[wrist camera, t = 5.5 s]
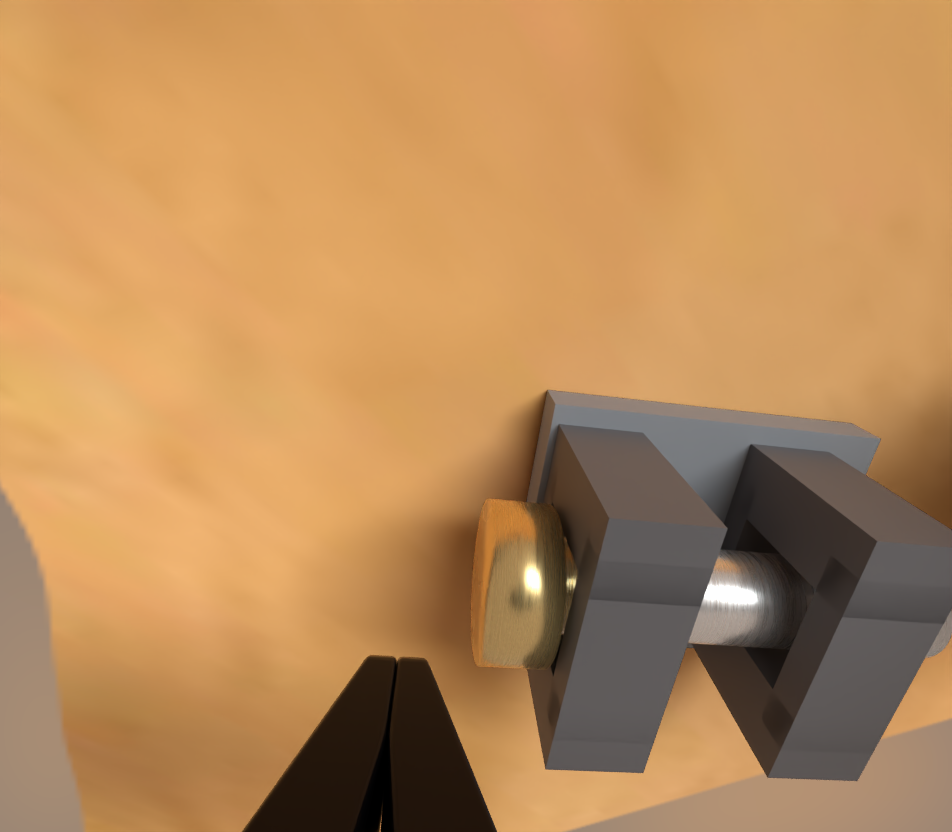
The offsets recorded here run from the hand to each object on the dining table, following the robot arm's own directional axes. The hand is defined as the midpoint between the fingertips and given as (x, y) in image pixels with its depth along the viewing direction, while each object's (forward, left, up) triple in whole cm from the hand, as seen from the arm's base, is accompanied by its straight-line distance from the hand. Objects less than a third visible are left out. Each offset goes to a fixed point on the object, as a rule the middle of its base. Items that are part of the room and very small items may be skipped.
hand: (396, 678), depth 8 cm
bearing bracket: (-10, +4, -13) cm, 17 cm away
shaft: (-10, +4, -11) cm, 15 cm away
